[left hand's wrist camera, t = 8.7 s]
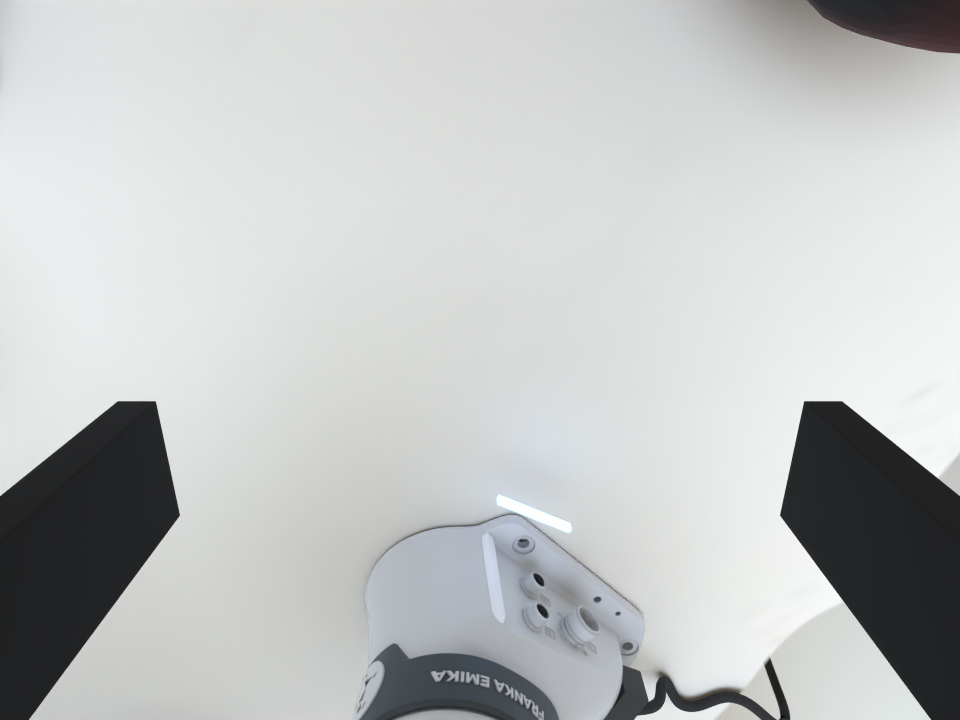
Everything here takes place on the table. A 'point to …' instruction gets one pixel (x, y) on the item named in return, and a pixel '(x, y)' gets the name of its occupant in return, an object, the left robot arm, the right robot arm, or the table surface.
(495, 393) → the table surface
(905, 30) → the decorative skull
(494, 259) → the table surface
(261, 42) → the table surface
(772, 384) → the table surface
